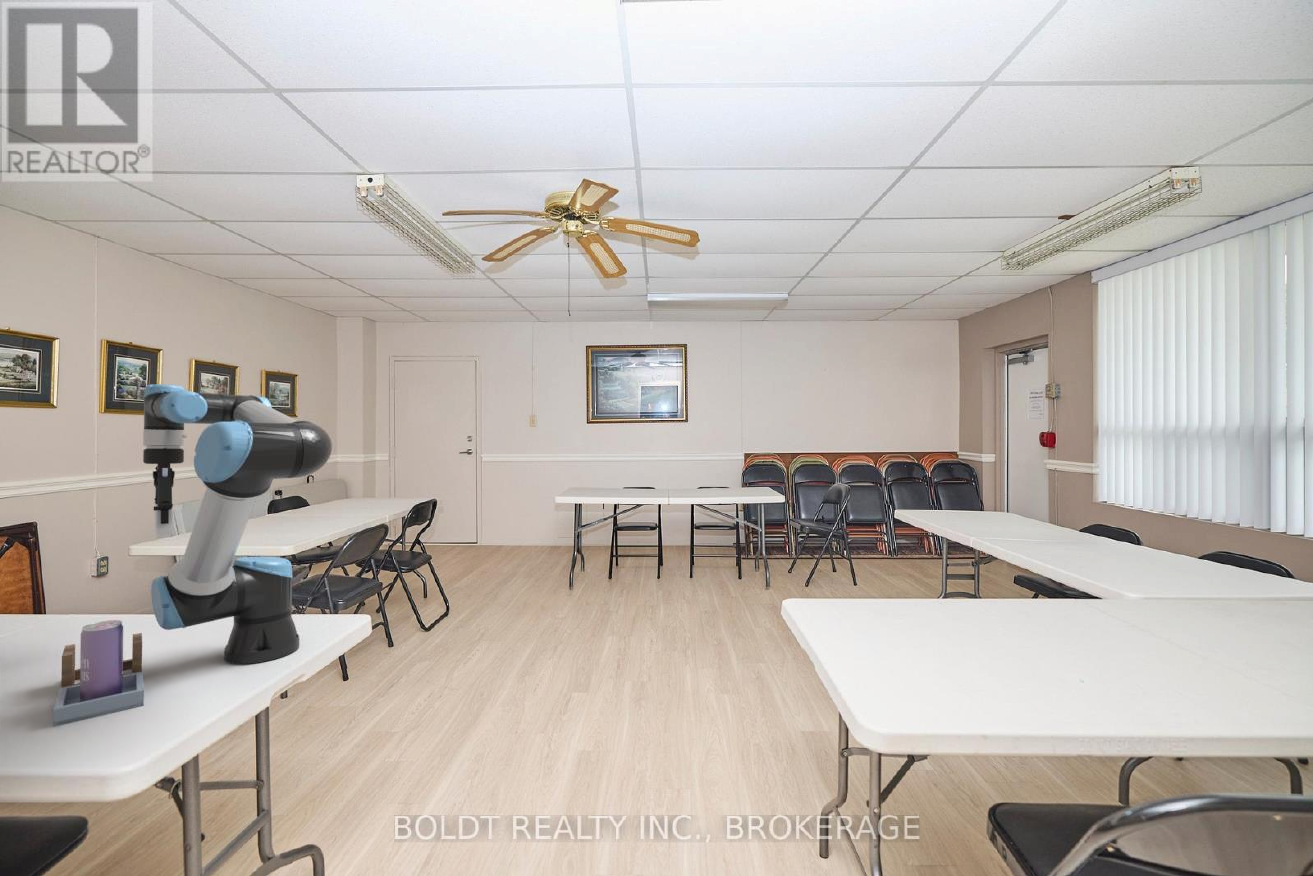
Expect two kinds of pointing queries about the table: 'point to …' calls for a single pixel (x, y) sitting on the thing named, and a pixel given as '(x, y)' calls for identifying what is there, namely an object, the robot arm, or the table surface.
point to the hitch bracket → (72, 675)
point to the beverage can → (101, 660)
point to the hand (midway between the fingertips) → (162, 533)
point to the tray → (98, 701)
